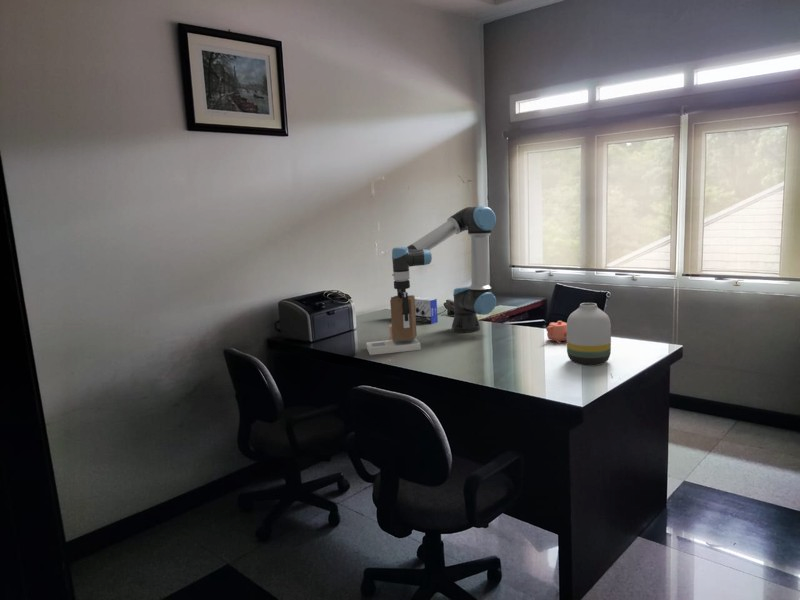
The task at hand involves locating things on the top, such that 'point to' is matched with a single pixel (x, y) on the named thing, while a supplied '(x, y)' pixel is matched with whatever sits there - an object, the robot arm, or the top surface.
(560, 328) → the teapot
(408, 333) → the wooden block
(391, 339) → the terracotta block
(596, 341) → the vase
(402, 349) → the foundation board
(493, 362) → the top surface
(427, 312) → the ink box
